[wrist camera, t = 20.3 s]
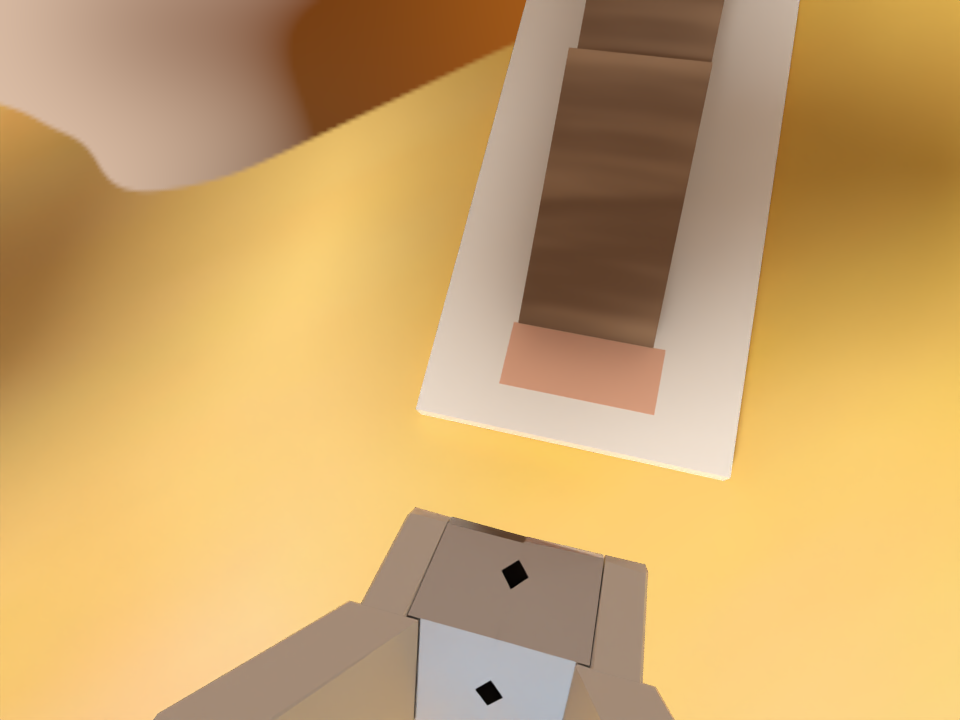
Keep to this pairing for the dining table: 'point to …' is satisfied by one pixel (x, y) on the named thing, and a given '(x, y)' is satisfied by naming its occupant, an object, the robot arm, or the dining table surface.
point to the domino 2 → (613, 194)
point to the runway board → (691, 281)
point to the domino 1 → (652, 27)
